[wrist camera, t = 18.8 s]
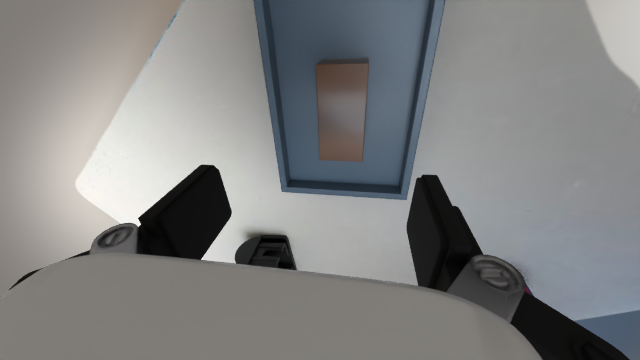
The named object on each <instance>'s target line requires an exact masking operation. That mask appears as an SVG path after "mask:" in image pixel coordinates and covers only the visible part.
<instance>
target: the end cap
mask: <svg viewBox="0 0 640 360" xmlns="http://www.w3.org/2000/svg"><path fill="white" fill-rule="evenodd" d="M235 261H236V264H243V265H252V266H261V267H270V268H279V269H288V270H296V266H295V263H294V259H293V255H292V252H291V248H290V245H289V241H288V238H287V237H286V236H274V235H264V236H259V237H254V238H251V239H249V240H247V241H246V242H244V243H243V244H242V245H241V246H240V247H239V248H238V250H237V251H236V254H235Z"/></svg>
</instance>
